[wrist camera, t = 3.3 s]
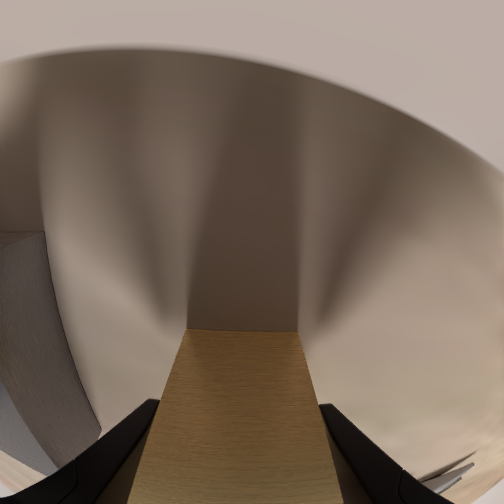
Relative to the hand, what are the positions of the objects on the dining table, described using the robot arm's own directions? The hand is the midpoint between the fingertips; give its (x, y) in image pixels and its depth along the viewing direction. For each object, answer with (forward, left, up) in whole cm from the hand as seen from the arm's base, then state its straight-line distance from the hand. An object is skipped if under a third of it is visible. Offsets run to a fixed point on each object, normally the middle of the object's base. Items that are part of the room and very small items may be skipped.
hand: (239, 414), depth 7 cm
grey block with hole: (0, +15, -2) cm, 15 cm away
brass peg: (0, 0, -2) cm, 2 cm away
